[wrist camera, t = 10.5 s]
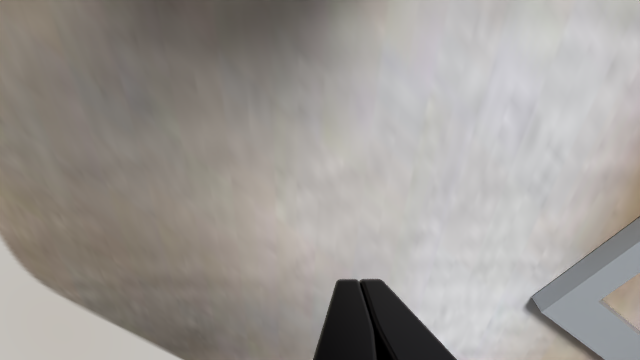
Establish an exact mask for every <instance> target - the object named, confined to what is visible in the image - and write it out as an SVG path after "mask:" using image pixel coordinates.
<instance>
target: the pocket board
mask: <svg viewBox="0 0 640 360" xmlns="http://www.w3.org/2000/svg"><path fill="white" fill-rule="evenodd" d="M638 273H640V217H639V218H638V219H636V220H635V221H634V222H632V223H631V224H630V225H628V226H627V227H625V228H624V229H623V230H621V231H620V232H619V233H617V234H616V235H615V236H613V237H612V238H611V239H609V240H608V241H607V242H605V243H604V244H603V245H601V246H600V247H598V248H597V249H596V250H594V251H593V252H592V253H590V254H589V255H588V256H586V257H585V258H584V259H582V260H581V261H580V262H578V263H577V264H576V265H574V266H573V267H571V268H570V269H569V270H567V271H566V272H565V273H563V274H562V275H561V276H559V277H558V278H557V279H555V280H554V281H553V282H551V283H550V284H549V285H547V286H546V287H544V288H543V289H542V290H540V291H539V292H538V293H536V294H535V295H534V296H532V298H533V300H534V302H535V303H536V305H537V306H538V308H539V309H540V311H541V312H542V313H543V314H544V315H546V316H547V317H548V318H550V319H551V320H552V321H554V322H555V323H556V324H558V325H559V326H560V327H562V328H563V329H564V330H566V331H567V332H568V333H570V334H571V335H572V336H574V337H575V338H576V339H578V340H579V341H580V342H582V343H583V344H585V345H586V346H587V347H589V348H590V349H591V350H593V351H594V352H595V353H597V354H598V355H599V356H601V357H602V358H603V359H605V360H640V331H639V330H638V329H637V328H635V327H634V326H633V325H632V324H631V323H629V322H628V321H627V320H626V319H625V318H623V317H622V316H621V315H620V314H619V313H617V312H616V311H615V310H614V309H613V308H611V307H610V306H609V305H608V304H607V303H605V302H604V301H603V300H602V298H604V297H605V296H607V295H608V294H610V293H611V292H612V291H614V290H615V289H617V288H618V287H620V286H621V285H623V284H624V283H625V282H627V281H628V280H630V279H631V278H633V277H634V276H635V275H637V274H638Z"/></svg>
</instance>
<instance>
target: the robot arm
mask: <svg viewBox="0 0 640 360" xmlns="http://www.w3.org/2000/svg"><path fill="white" fill-rule="evenodd" d="M313 360H457V359H456V358H455V357H454V356H453V355H452V354H451V353H450V352H449V351H448V350H447V349H446V348H445V346H444V345H443V344H442V343H441V342H440V341H439V340H438V339H437V338H436V337H435V336H434V335H433V334H432V333H431V332H430V331H429V329H428V328H427V327H426V326H425V325H424V324H423V323H422V322H421V321H420V320H419V319H418V318H417V317H416V316H415V315H414V313H413V312H412V311H411V310H410V309H409V308H408V307H407V306H406V305H405V304H404V303H403V302H402V301H401V300H400V299H399V297H398V296H397V295H396V294H395V293H394V292H393V291H392V290H391V289H390V288H389V287H388V286H387V285H386V284H385V283H384V282H383V281H382V280H380V279H362V280H360V281H358V280H356V279H340V280H338V281H337V282H336V285H335V288H334V291H333V295H332V298H331V301H330V305H329V308H328V312H327V315H326V318H325V322H324V325H323V328H322V332H321V335H320V338H319V342H318V345H317V348H316V352H315V355H314V358H313Z"/></svg>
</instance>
